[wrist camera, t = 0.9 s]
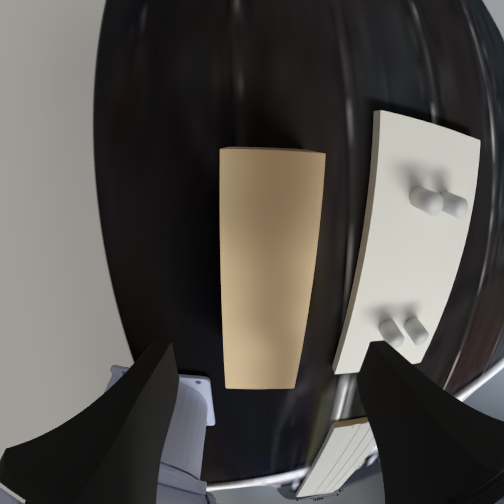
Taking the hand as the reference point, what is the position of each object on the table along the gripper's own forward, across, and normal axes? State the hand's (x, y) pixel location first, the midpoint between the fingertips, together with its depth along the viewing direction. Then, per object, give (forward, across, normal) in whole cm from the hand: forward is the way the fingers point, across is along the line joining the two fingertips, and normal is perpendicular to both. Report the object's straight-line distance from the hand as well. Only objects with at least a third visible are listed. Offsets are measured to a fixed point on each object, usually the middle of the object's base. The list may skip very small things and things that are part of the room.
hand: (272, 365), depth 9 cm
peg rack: (+9, -11, 0) cm, 14 cm away
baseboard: (+10, -14, +35) cm, 39 cm away
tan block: (+10, 0, 0) cm, 10 cm away
